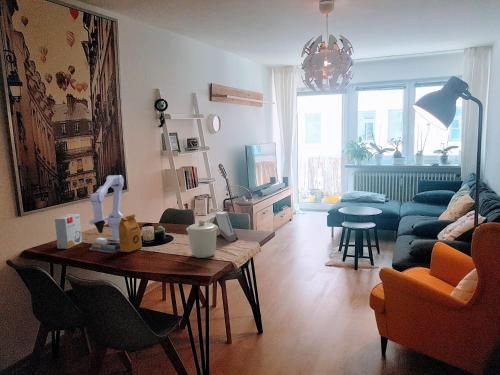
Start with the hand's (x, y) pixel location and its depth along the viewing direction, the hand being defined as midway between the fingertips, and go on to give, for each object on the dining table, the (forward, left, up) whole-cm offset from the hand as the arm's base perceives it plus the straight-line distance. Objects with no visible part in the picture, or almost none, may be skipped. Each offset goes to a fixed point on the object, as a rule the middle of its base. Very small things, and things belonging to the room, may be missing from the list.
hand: (100, 232), depth 247 cm
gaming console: (-46, +66, -10) cm, 82 cm away
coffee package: (-2, +23, -10) cm, 25 cm away
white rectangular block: (+1, +1, -9) cm, 9 cm away
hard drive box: (+4, -25, -10) cm, 28 cm away
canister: (-9, +72, -10) cm, 73 cm away
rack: (+1, +6, -10) cm, 11 cm away
